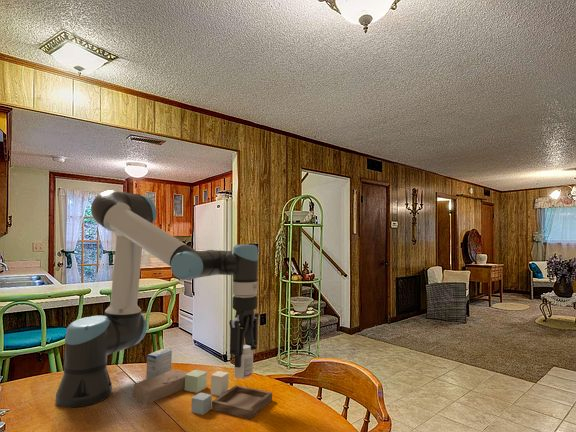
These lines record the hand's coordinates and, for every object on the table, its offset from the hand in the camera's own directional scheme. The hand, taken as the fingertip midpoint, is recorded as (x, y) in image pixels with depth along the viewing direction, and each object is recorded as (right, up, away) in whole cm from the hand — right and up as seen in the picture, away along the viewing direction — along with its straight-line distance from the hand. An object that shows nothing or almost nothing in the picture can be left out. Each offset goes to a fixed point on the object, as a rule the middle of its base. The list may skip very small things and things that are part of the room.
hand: (243, 374), depth 108 cm
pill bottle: (0, -1, 0) cm, 1 cm away
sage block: (-17, -9, +11) cm, 22 cm away
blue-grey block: (-12, -9, -4) cm, 15 cm away
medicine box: (-33, -10, +20) cm, 40 cm away
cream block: (-9, -9, +8) cm, 15 cm away
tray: (0, -9, -1) cm, 9 cm away
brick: (-27, -10, +8) cm, 30 cm away
